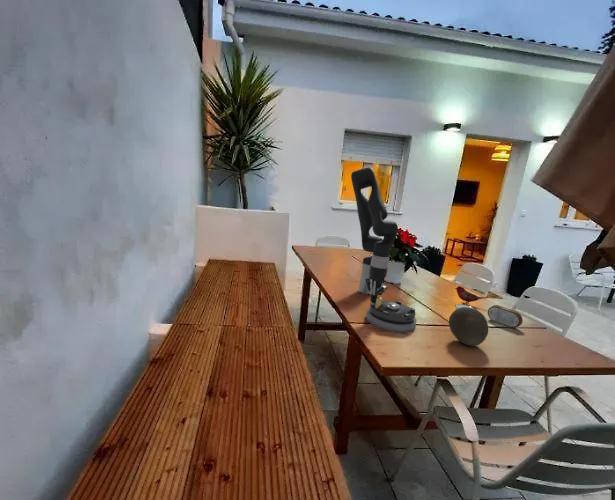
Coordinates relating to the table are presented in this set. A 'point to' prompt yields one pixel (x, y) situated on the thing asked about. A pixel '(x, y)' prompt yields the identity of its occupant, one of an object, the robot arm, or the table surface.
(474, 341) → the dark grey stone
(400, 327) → the base plate
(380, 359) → the table surface
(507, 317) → the tin
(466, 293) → the decorative bird figurine
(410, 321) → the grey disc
